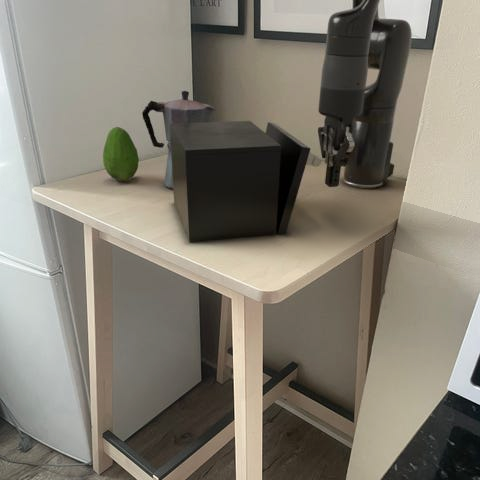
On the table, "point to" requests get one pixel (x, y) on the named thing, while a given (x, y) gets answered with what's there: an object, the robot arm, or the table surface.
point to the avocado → (120, 155)
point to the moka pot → (175, 122)
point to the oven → (225, 180)
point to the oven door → (289, 172)
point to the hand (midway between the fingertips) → (331, 185)
